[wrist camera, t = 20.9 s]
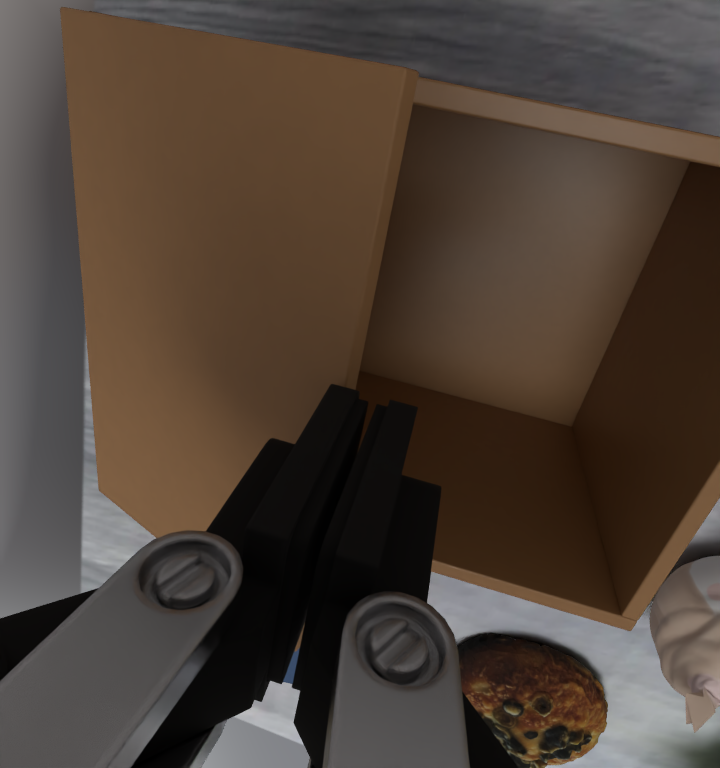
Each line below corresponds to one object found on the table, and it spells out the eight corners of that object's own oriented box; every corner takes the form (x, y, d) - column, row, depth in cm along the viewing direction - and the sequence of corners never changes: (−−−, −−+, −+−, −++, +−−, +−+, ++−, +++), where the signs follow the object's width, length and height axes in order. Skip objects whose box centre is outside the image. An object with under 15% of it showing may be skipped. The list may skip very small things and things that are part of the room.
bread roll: (504, 605, 32) (515, 692, 27) (640, 678, 34) (668, 768, 30) (398, 676, 37) (393, 757, 33) (520, 734, 40) (530, 816, 35)
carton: (250, 345, 28) (114, 476, 18) (274, 58, 21) (85, 10, 11) (576, 432, 26) (631, 632, 16) (707, 146, 20) (933, 179, 10)
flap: (109, 485, 17) (98, 490, 17) (77, 10, 11) (58, 5, 11) (305, 642, 14) (294, 653, 13) (420, 71, 7) (406, 67, 7)
